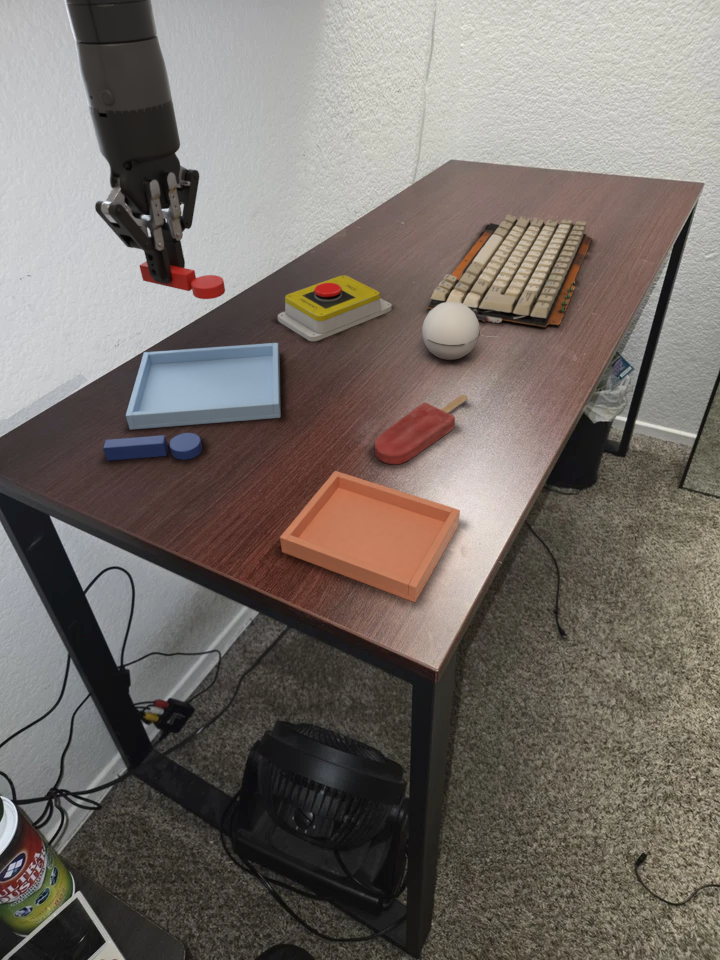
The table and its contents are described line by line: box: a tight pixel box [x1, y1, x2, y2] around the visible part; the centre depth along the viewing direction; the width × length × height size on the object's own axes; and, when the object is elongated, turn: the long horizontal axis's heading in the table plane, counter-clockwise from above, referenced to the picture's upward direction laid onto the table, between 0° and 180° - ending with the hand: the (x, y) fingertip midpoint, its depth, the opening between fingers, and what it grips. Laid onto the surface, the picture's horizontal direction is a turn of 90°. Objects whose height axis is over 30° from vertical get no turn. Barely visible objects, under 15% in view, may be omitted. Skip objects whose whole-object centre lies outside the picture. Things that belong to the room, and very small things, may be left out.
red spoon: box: [139, 261, 226, 300], centre depth 71 cm, size 10×3×2 cm, turn 63°
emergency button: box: [277, 274, 393, 342], centre depth 95 cm, size 9×4×15 cm
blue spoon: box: [102, 432, 203, 462], centre depth 72 cm, size 10×3×2 cm, turn 96°
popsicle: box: [374, 394, 469, 465], centre depth 74 cm, size 4×2×15 cm
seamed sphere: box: [421, 302, 499, 361], centre depth 84 cm, size 10×7×7 cm
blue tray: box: [125, 342, 282, 431], centre depth 81 cm, size 17×14×2 cm
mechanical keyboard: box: [426, 213, 593, 328], centre depth 105 cm, size 38×19×3 cm, turn 158°
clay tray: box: [279, 470, 461, 603], centre depth 61 cm, size 13×10×2 cm
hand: (169, 277), depth 72 cm, fingers closed on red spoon, 1 cm apart
